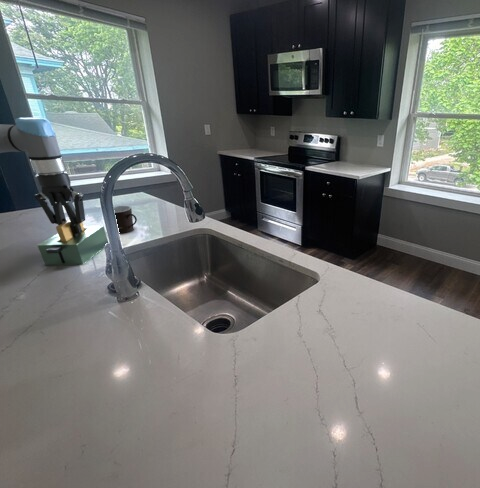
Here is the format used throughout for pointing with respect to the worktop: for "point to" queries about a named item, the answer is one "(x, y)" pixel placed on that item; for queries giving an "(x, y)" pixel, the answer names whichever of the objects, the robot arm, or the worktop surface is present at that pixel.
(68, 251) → the toaster
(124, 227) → the coffee mug
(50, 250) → the toaster lever
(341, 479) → the worktop surface
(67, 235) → the toast
